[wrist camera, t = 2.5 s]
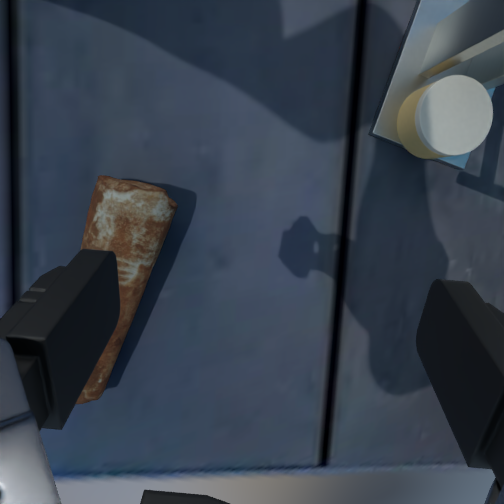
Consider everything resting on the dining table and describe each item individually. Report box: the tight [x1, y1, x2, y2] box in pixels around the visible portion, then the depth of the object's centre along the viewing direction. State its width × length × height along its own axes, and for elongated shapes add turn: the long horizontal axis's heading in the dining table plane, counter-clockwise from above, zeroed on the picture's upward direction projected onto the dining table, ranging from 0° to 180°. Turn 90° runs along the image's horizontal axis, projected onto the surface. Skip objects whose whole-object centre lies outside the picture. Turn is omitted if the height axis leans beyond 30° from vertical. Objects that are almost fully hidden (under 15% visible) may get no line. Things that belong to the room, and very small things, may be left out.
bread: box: [76, 175, 178, 404], centre depth 34 cm, size 6×19×6 cm, turn 159°
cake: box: [397, 75, 493, 159], centre depth 35 cm, size 6×6×4 cm
